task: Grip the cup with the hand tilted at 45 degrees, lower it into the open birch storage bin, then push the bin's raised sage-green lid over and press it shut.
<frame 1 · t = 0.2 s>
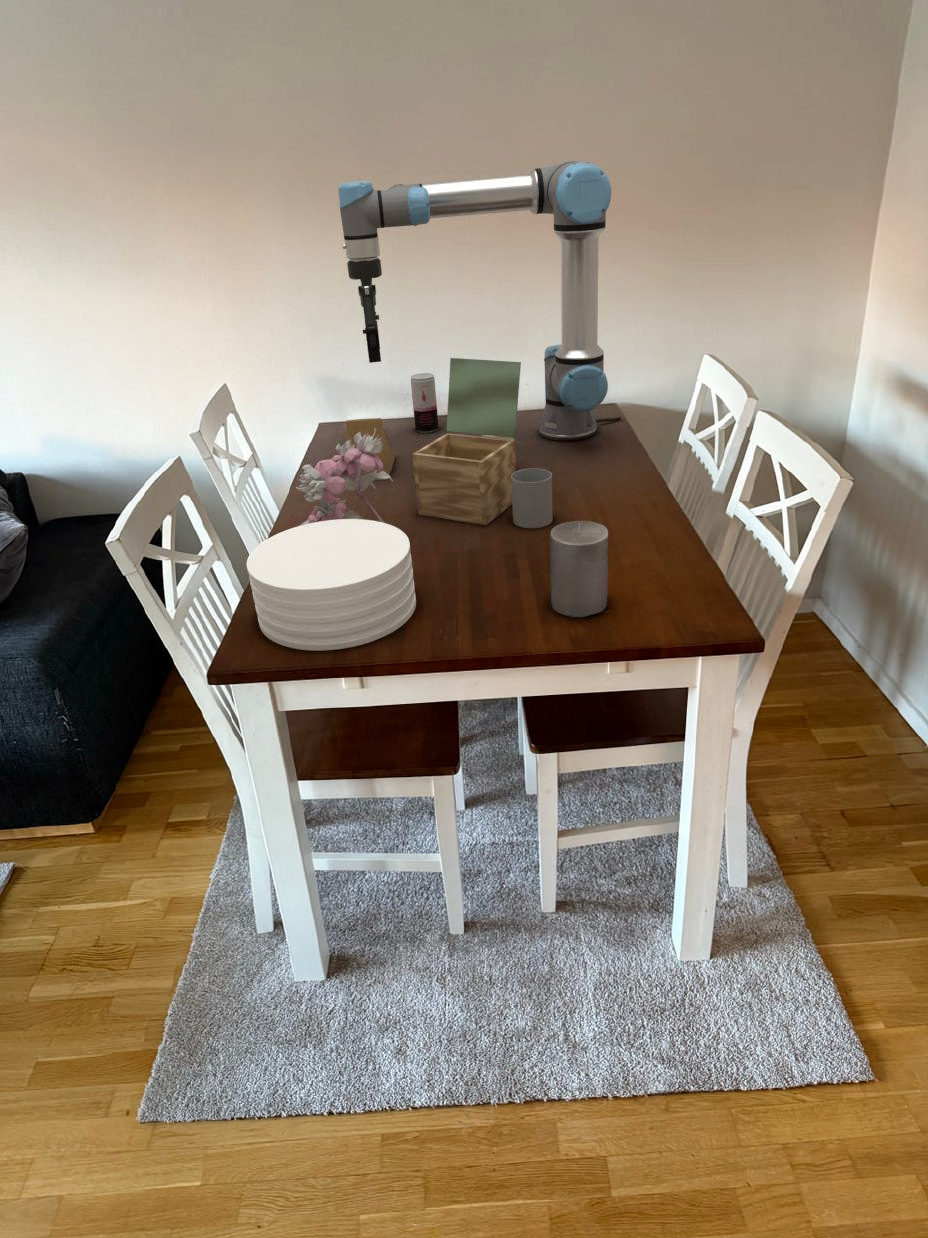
hand: (374, 355, 205), 28 cm above the table, tool pointing down, fingers open, 13 cm apart
plate stack: (338, 610, 155), on the table
cup: (532, 521, 184), on the table
pillar candle: (579, 605, 151), on the table
beverage can: (427, 430, 244), on the table
bin: (468, 507, 192), on the table
lid: (482, 397, 188), point 22 cm above the table, hinge at 105.0°
flower: (341, 543, 180), on the table
sandwich container: (375, 469, 219), on the table
white cup: (499, 471, 211), on the table
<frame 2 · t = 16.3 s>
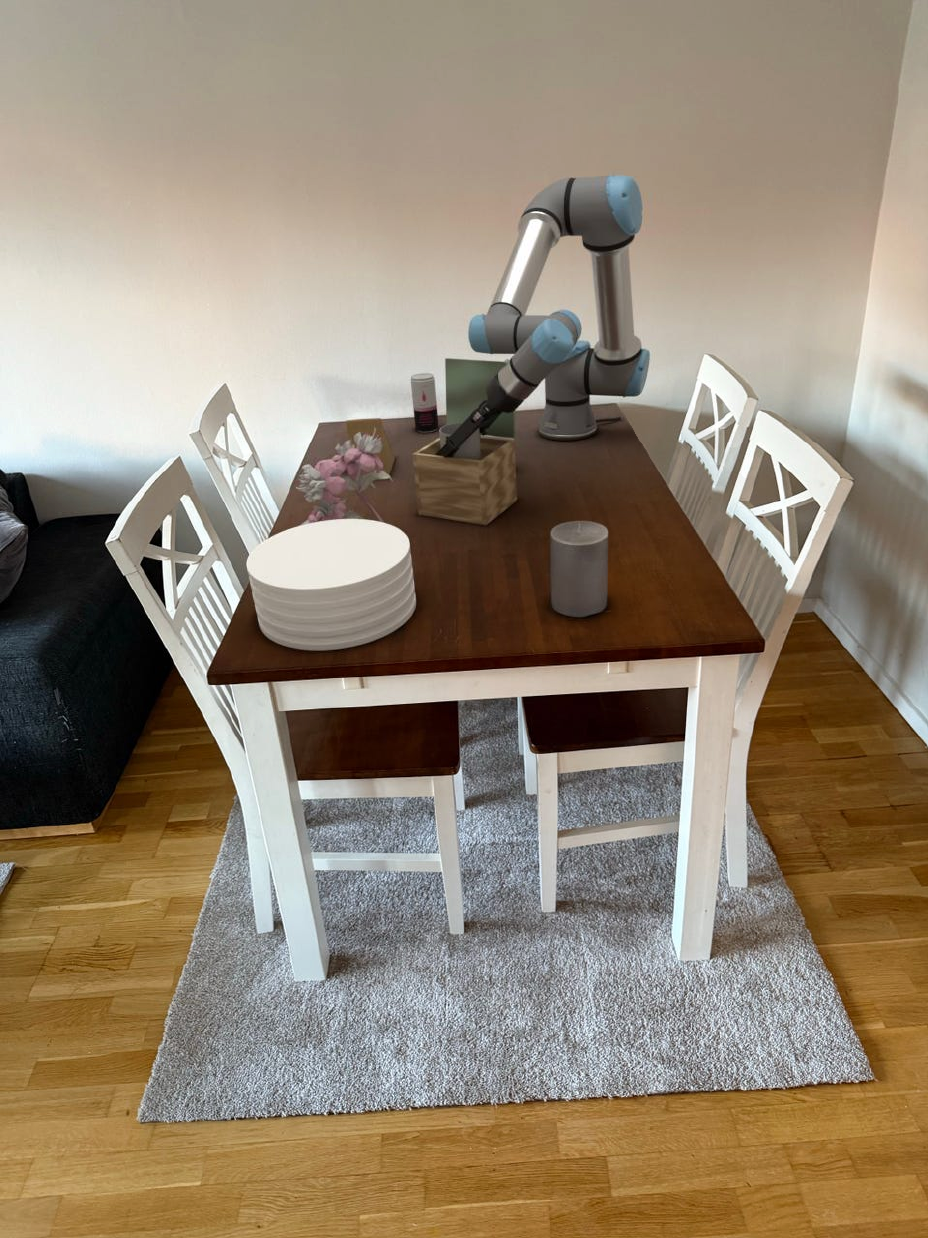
hand: (447, 455, 187), 12 cm above the table, tool tilted 45°, fingers closed on cup, 8 cm apart
cup: (462, 474, 187), point 8 cm above the table, touching gripper
lid: (480, 397, 187), point 22 cm above the table, hinge at 96.8°
everything else where it was.
when the fingers open (14 cm above the table, at t = 31.1 s): cup drops 5 cm, point 5 cm above the table.
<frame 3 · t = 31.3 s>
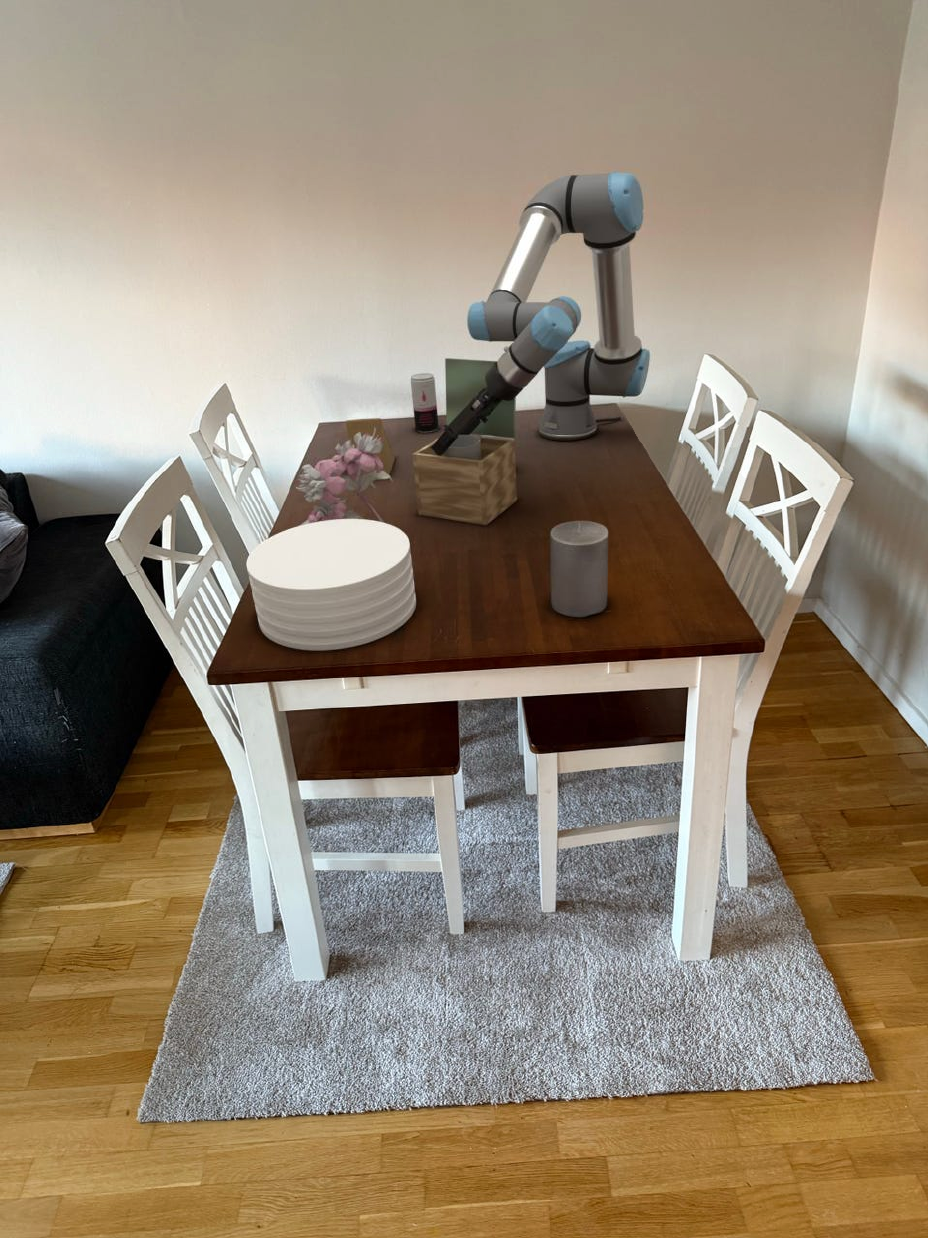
hand: (447, 443, 186), 15 cm above the table, tool tilted 45°, fingers open, 9 cm apart
cup: (463, 486, 188), point 5 cm above the table
everything else where it was.
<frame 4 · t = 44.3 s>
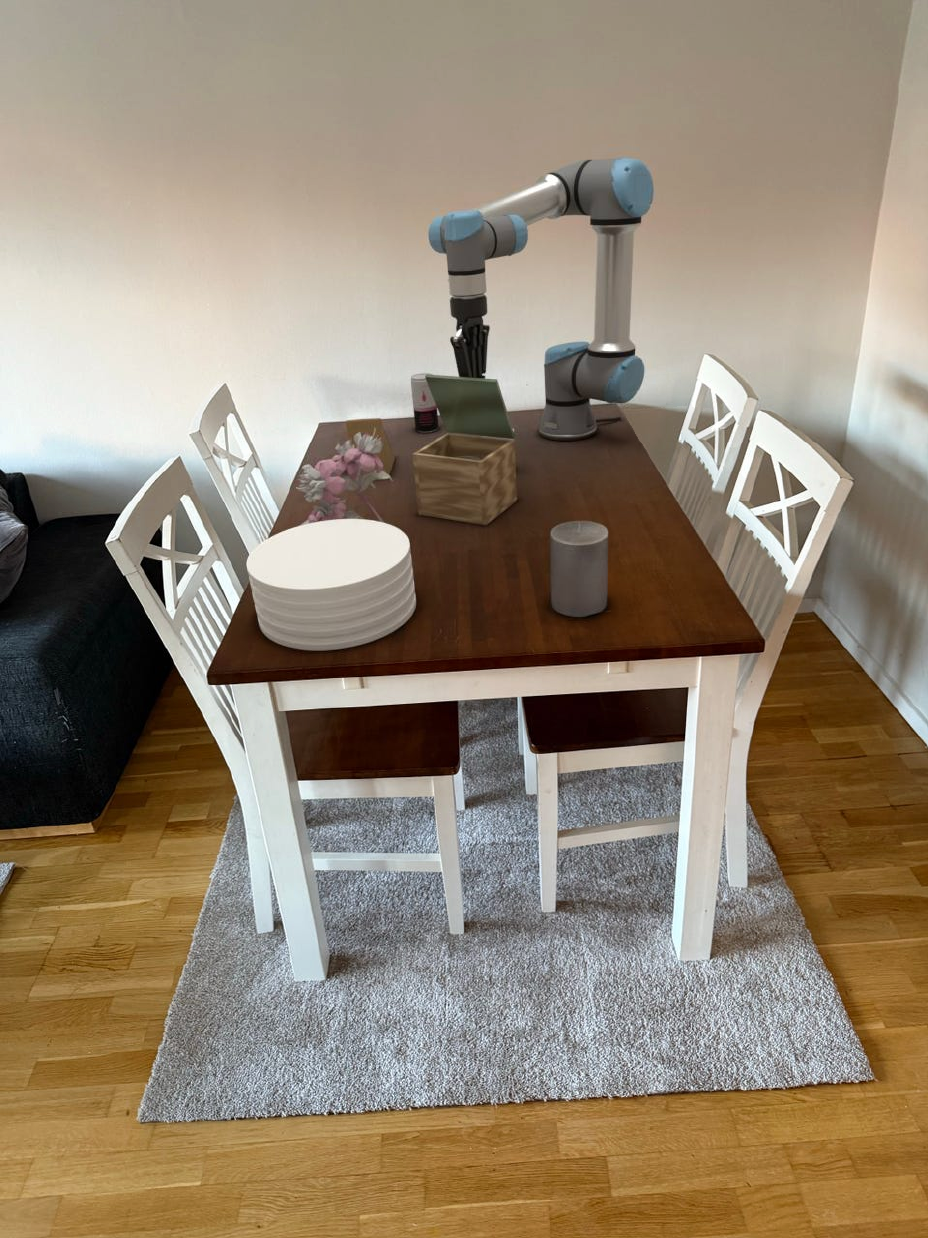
hand: (475, 410, 187), 20 cm above the table, tool pointing down, fingers closed
cup: (465, 506, 191), point 1 cm above the table, touching bin
lid: (470, 407, 185), point 21 cm above the table, hinge at 63.7°
everything else where it was.
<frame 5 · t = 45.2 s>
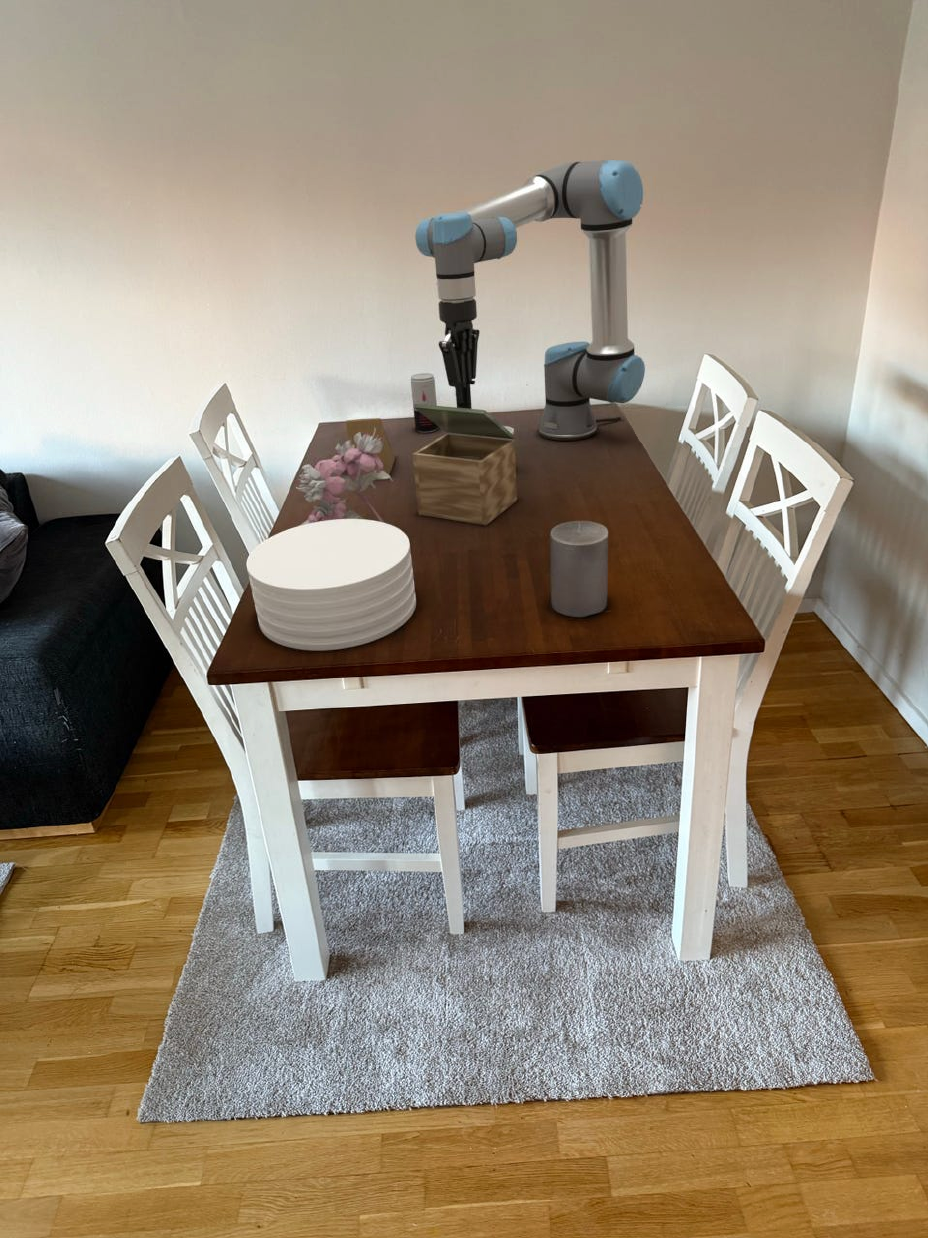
hand: (464, 416, 183), 20 cm above the table, tool pointing down, fingers closed
lid: (464, 421, 184), point 19 cm above the table, hinge at 36.4°, touching gripper
everything else where it was.
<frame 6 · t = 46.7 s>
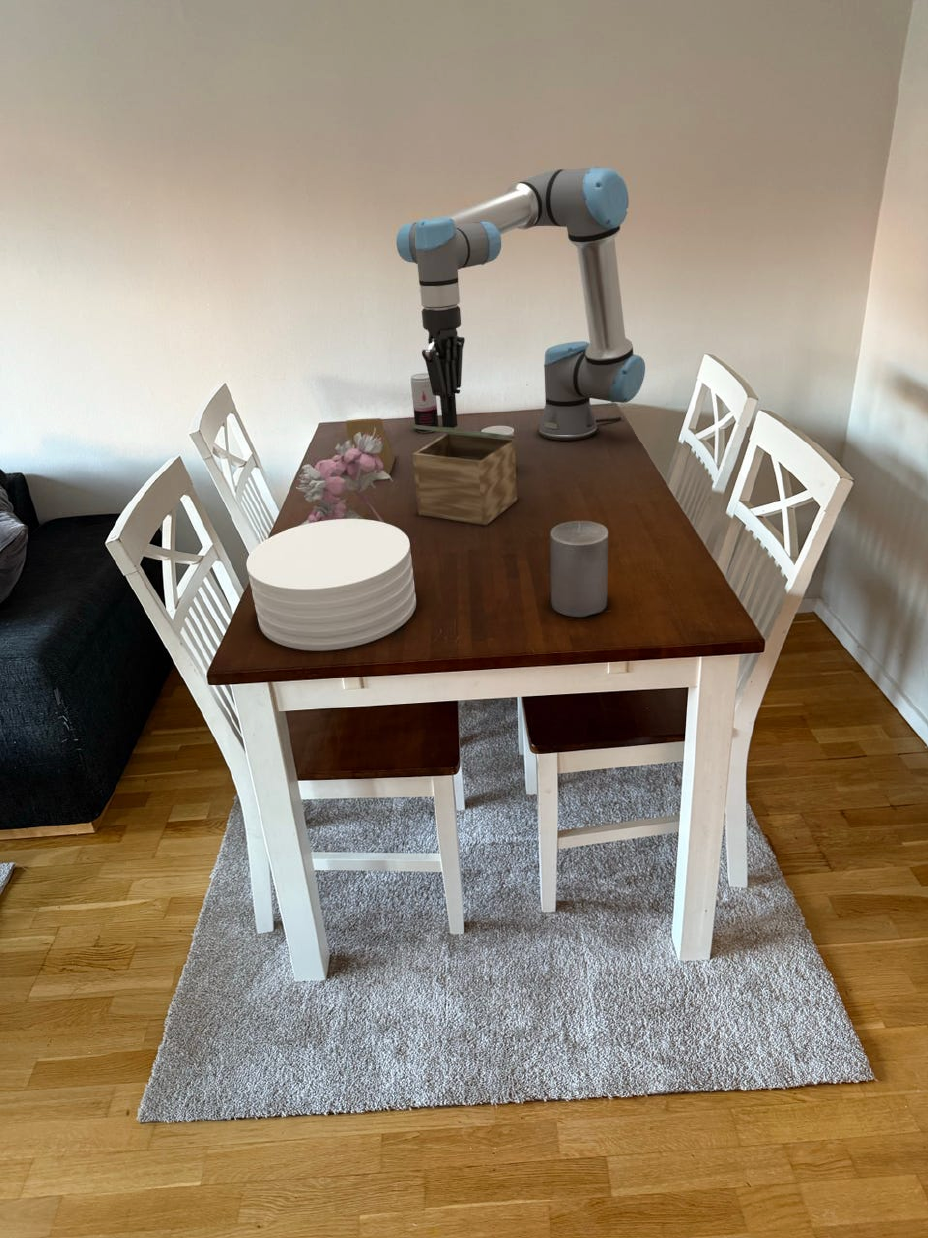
hand: (450, 426, 179), 20 cm above the table, tool pointing down, fingers closed
lid: (463, 432, 184), point 17 cm above the table, hinge at 20.5°, touching gripper
everything else where it was.
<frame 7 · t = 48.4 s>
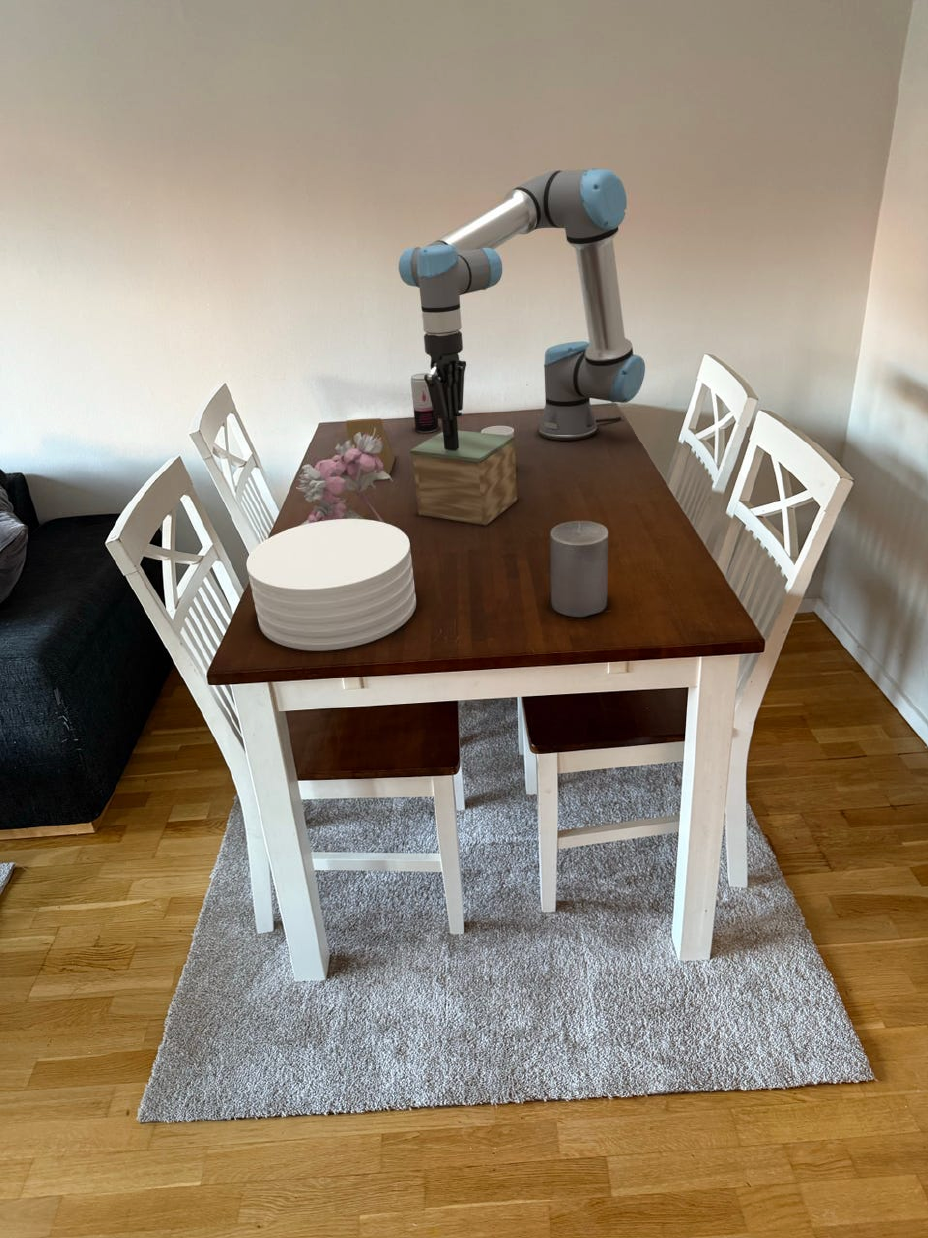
hand: (451, 448, 181), 15 cm above the table, tool pointing down, fingers closed
lid: (462, 444, 185), point 14 cm above the table, hinge at 1.0°, touching gripper
everything else where it was.
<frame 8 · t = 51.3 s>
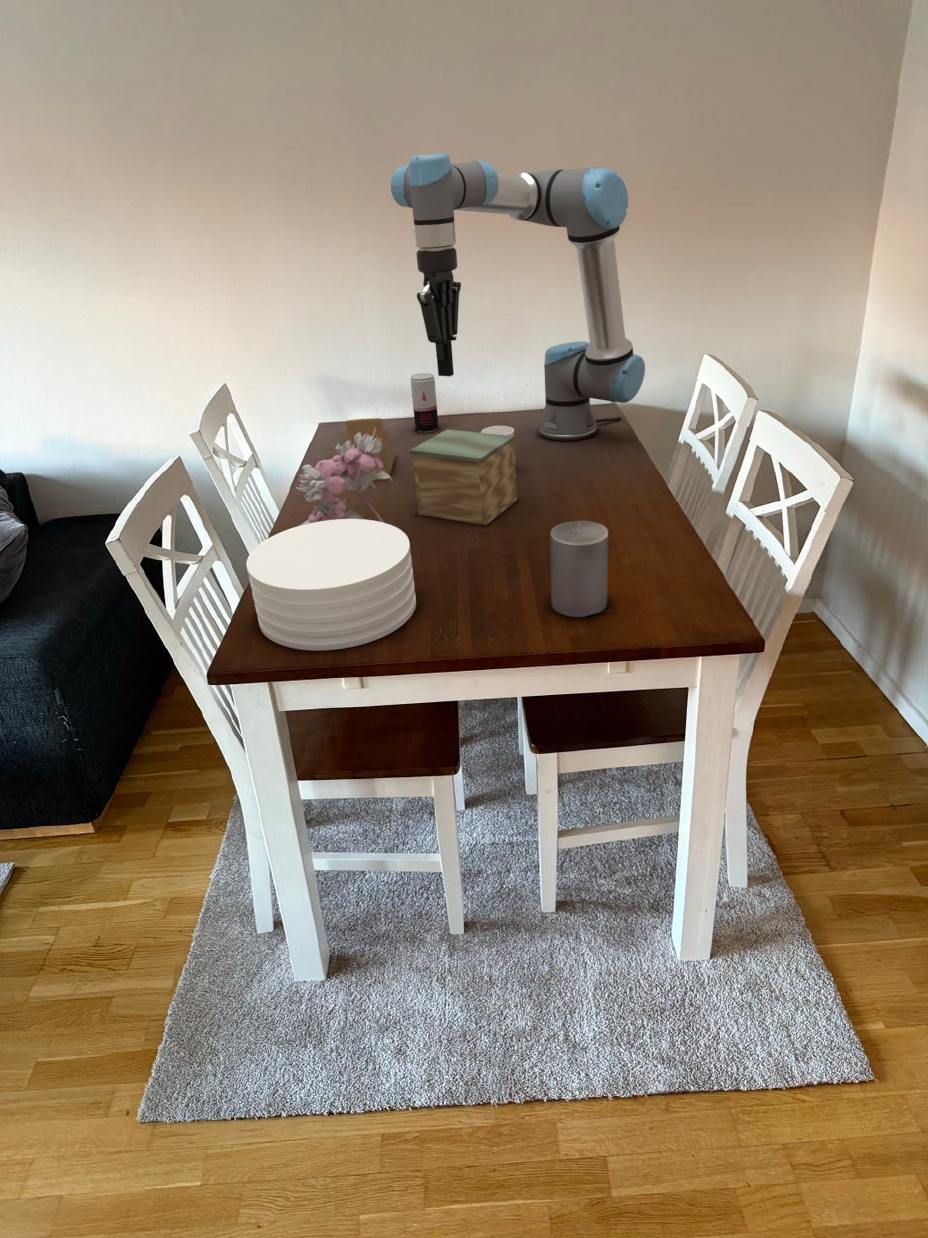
hand: (446, 374, 173), 30 cm above the table, tool pointing down, fingers closed
lid: (462, 444, 185), point 14 cm above the table, hinge at 1.0°
everything else where it was.
at the end: cup inside the target area in the bin (1.5 cm from its centre), point 0.7 cm above the bin's base; lid at +1° (first picture: +105°) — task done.
